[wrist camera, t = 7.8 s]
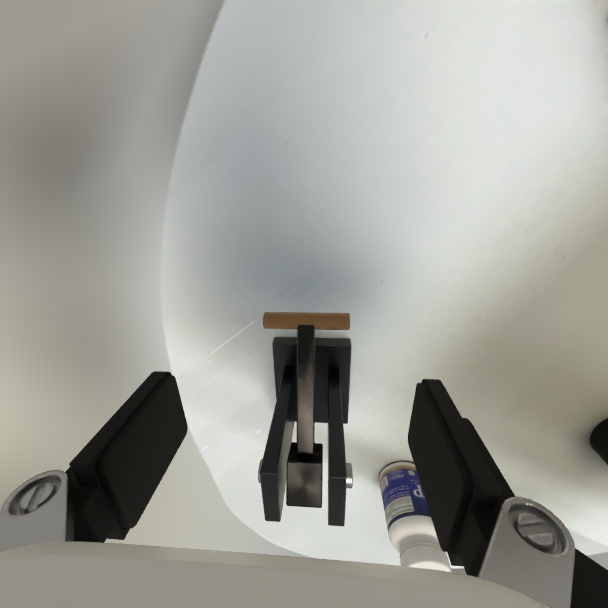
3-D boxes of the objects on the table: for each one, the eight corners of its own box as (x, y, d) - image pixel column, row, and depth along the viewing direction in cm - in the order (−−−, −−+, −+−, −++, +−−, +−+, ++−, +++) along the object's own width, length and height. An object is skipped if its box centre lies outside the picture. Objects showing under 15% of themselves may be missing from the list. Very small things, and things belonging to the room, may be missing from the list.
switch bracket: (274, 337, 26) (237, 442, 15) (350, 338, 26) (367, 448, 15) (279, 412, 30) (252, 542, 19) (346, 414, 29) (358, 550, 18)
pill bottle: (436, 479, 32) (474, 580, 24) (398, 498, 33) (421, 599, 25) (406, 452, 31) (435, 549, 22) (368, 474, 32) (382, 572, 24)
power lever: (268, 311, 20) (260, 313, 17) (347, 312, 19) (351, 314, 17) (267, 479, 20) (260, 504, 18) (346, 484, 20) (349, 510, 17)
